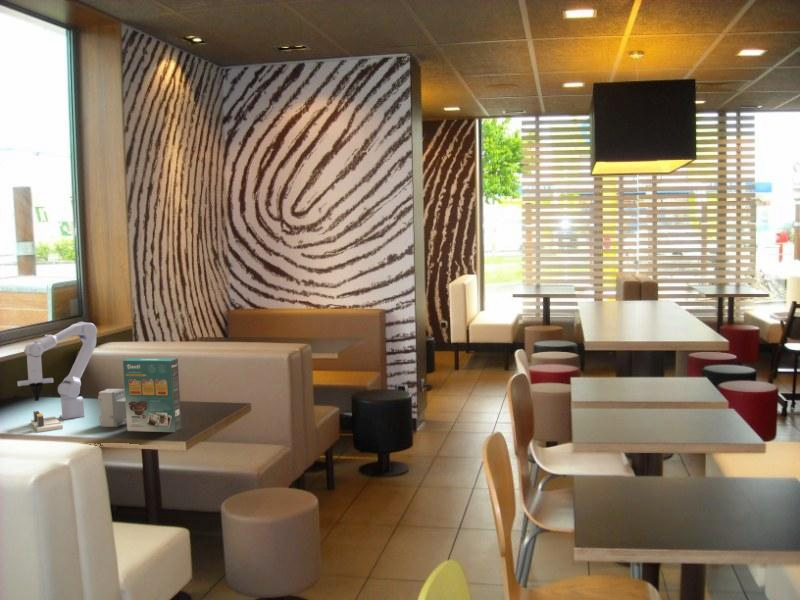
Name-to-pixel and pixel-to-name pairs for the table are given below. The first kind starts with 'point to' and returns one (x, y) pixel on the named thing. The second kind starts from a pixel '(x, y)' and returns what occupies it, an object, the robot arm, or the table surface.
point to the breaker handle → (40, 420)
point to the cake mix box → (152, 394)
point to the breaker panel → (46, 423)
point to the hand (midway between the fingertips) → (36, 400)
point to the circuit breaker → (112, 407)
